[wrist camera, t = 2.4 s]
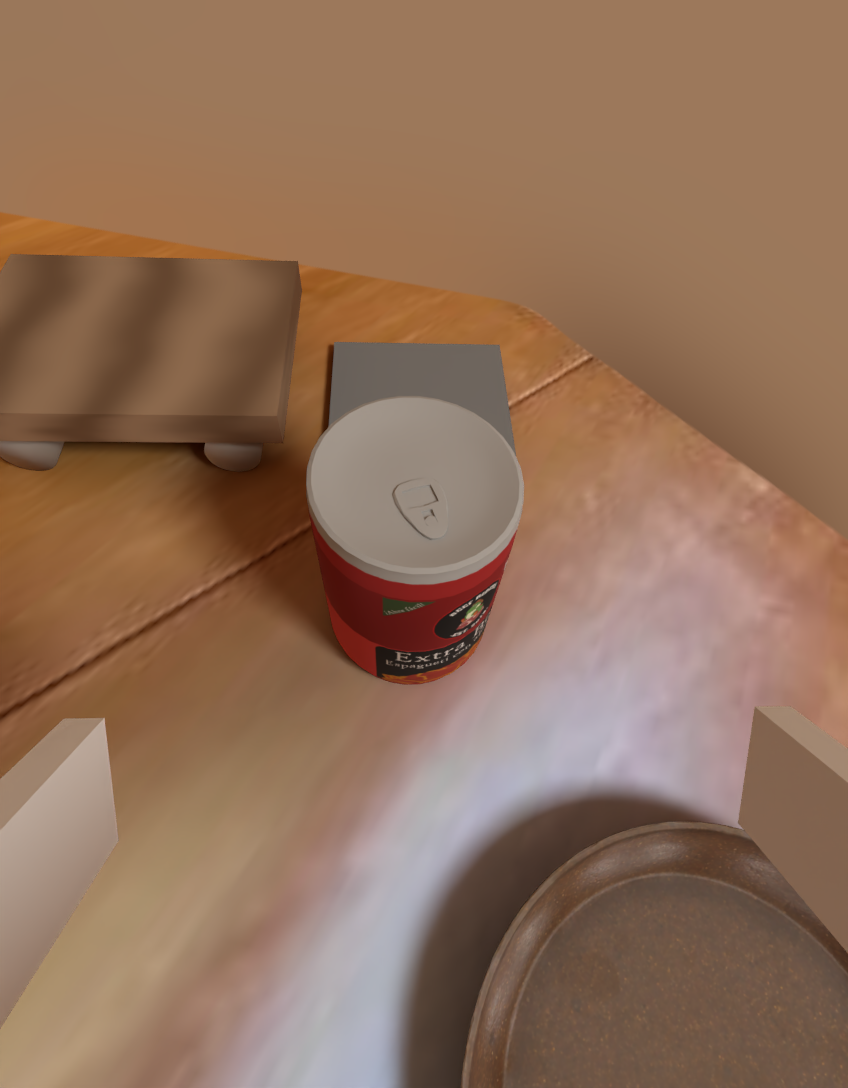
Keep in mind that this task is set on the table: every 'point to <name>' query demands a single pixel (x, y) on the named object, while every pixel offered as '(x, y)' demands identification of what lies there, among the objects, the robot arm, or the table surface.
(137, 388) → the walnut slab
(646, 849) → the plant saucer
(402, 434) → the canned food
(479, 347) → the rubber mat
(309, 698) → the table surface
